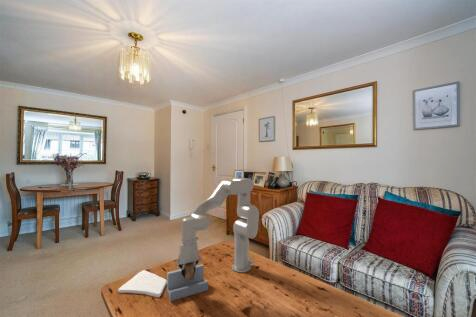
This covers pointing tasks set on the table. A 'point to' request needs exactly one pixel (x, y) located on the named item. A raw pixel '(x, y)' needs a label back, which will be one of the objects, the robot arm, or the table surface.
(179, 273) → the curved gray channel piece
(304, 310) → the table surface
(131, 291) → the flat white fragment
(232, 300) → the table surface
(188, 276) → the brown block
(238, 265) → the robot arm
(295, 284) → the table surface
